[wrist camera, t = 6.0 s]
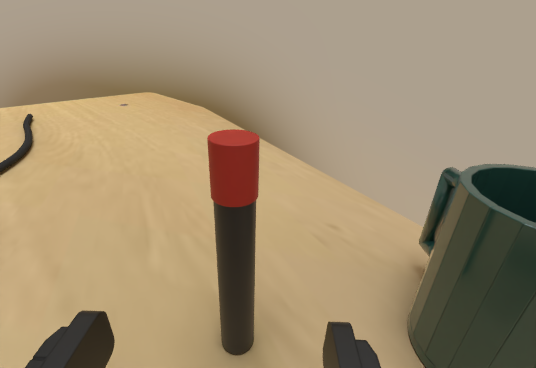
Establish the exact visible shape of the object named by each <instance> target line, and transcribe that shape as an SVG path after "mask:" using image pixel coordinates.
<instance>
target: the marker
mask: <svg viewBox="0 0 536 368" xmlns="http://www.w3.org/2000/svg"><path fill="white" fill-rule="evenodd" d="M208 155H209V171H210V187H211V198H212V200H213V201H214V218H215V235H216V252H217V269H218V285H219V302H220V319H221V336H222V345H223V347H224V349H225V350H226V351H227V352H229V353H231V354H236V355H237V354H242V353H245V352H246V351H248V350H249V349H250V347H251V346H252V344H253V340H254V286H255V230H256V199H257V197H258V179H259V136H258V135H257V134H255V133H253V132H250V131H245V130H222V131H217V132H214V133H212V134H210V135H209V136H208Z"/></svg>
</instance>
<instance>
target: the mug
mask: <svg viewBox="0 0 536 368" xmlns="http://www.w3.org/2000/svg"><path fill="white" fill-rule="evenodd" d="M419 244H420V246H421V247H422V249H423V250H424V251H425V252H426V253H427V255H428V256H429V260H428V262H427V265H426V268H425V270H424V273H423V276H422V278H421V281H420V284H419V287H418V289H417V292H416V295H415V297H414V300H413V303H412V307H411V310H410V313H409V316H408V332H409V337H410V340H411V343H412V345H413V347H414V349H415V351H416V353H417V355H418V356H419V358H420V360H421V361H422V363H423V364H424V365H425V367H426V368H536V168H533V167H525V166H517V165H506V164H484V165H478V166H472V167H469V168H467V169H466V170H464V171H463V172H461V171H459V170H457V169H456V168H453V167H450V168H446V169H445V170H443V172H442V174H441V177H440V180H439V183H438V186H437V189H436V192H435V195H434V198H433V201H432V204H431V207H430V210H429V213H428V216H427V218H426V221H425V224H424V227H423V230H422V233H421V236H420V239H419Z"/></svg>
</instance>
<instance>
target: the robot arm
mask: <svg viewBox="0 0 536 368" xmlns="http://www.w3.org/2000/svg"><path fill="white" fill-rule="evenodd" d="M32 118H33V116H32V115H31V114H28V115H27V117H26V118H25V120H24V124H23V128H24V131H25V141H24V143H23V145H22V146H21V147H20V149H19V150H18V151H17V152H16V153H14V154H13V155H12V156H10V157H9V158H7V159H6V160H4V161H3V162H1V163H0V172H1V171H3V170H5V169H6V168H8V167H9V166H11V165H12V164H13V163H15V162H16V161H18V160H19V159H20V158H21V157H22V156H23V155H24V154H25V153H26V152H27V151H28V150H29V148H30V147H31V144H32V131H31V129H30V122H31V120H32ZM113 348H114V336H113V332H112V329H111V326H110V323H109V320H108V317H107V314H106V312H104V311H81V312H79V313H78V314H77V315H76V317H75V318H74V319H73V321H72V322H71V324H70V325H69V326H68V327H61V328H60V329H59V330H57V331H56V332H55V333H54V334H53V335H51V336H50V337H49V338H48V339H47V340H45V342H44V343H43V344H42V346H41V347H40V348H39V350H38V351H37V352H36V354H35V355H34V356H33V359H32V360H30V362H29V363H28V364H27V366H26V367H25V368H105V367H106V365H107V363H108V361H109V359H110V357H111V355H112V352H113ZM323 366H324V368H381V366H380V363H379V360H378V357H377V355H376V353H375V352H374V351H373V349H372V348H371V346H370V345H369V344H368V342H367V341H366V340H355V337H354V333H353V329H352V326H351V324H350V323H348V322H328V325H327V331H326V336H325V341H324V346H323Z"/></svg>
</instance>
